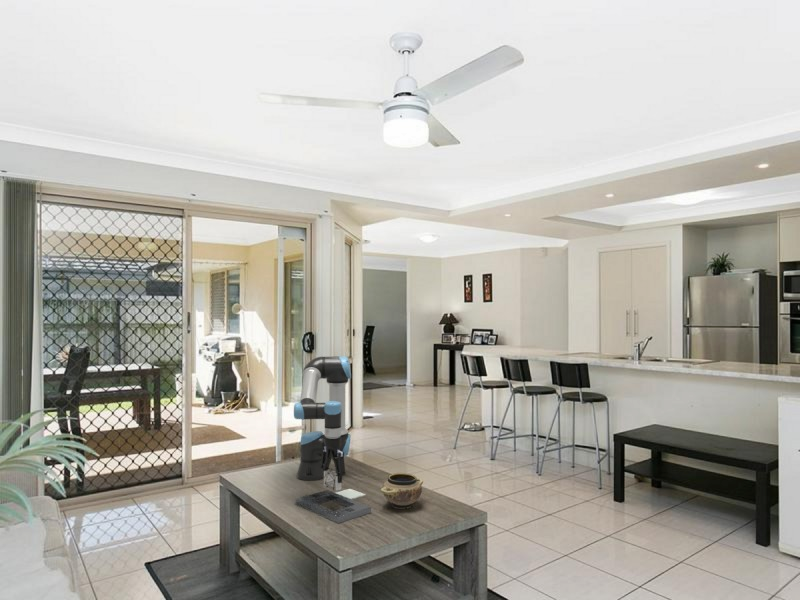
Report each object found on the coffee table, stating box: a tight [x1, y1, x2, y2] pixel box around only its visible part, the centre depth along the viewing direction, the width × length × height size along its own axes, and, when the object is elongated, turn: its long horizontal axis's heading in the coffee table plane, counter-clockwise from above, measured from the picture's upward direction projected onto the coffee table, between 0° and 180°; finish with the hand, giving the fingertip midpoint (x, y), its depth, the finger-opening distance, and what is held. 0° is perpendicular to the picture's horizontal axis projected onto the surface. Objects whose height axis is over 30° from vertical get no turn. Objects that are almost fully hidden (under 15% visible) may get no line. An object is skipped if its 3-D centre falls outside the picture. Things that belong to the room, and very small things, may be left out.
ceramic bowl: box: [380, 472, 424, 510], centre depth 246 cm, size 24×18×15 cm
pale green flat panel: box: [335, 488, 366, 500], centre depth 259 cm, size 12×12×1 cm
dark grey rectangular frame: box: [294, 489, 372, 524], centre depth 242 cm, size 32×18×3 cm, turn 44°
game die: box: [323, 468, 337, 491], centre depth 243 cm, size 9×8×10 cm
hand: (332, 487), depth 243 cm, fingers closed on game die, 8 cm apart
